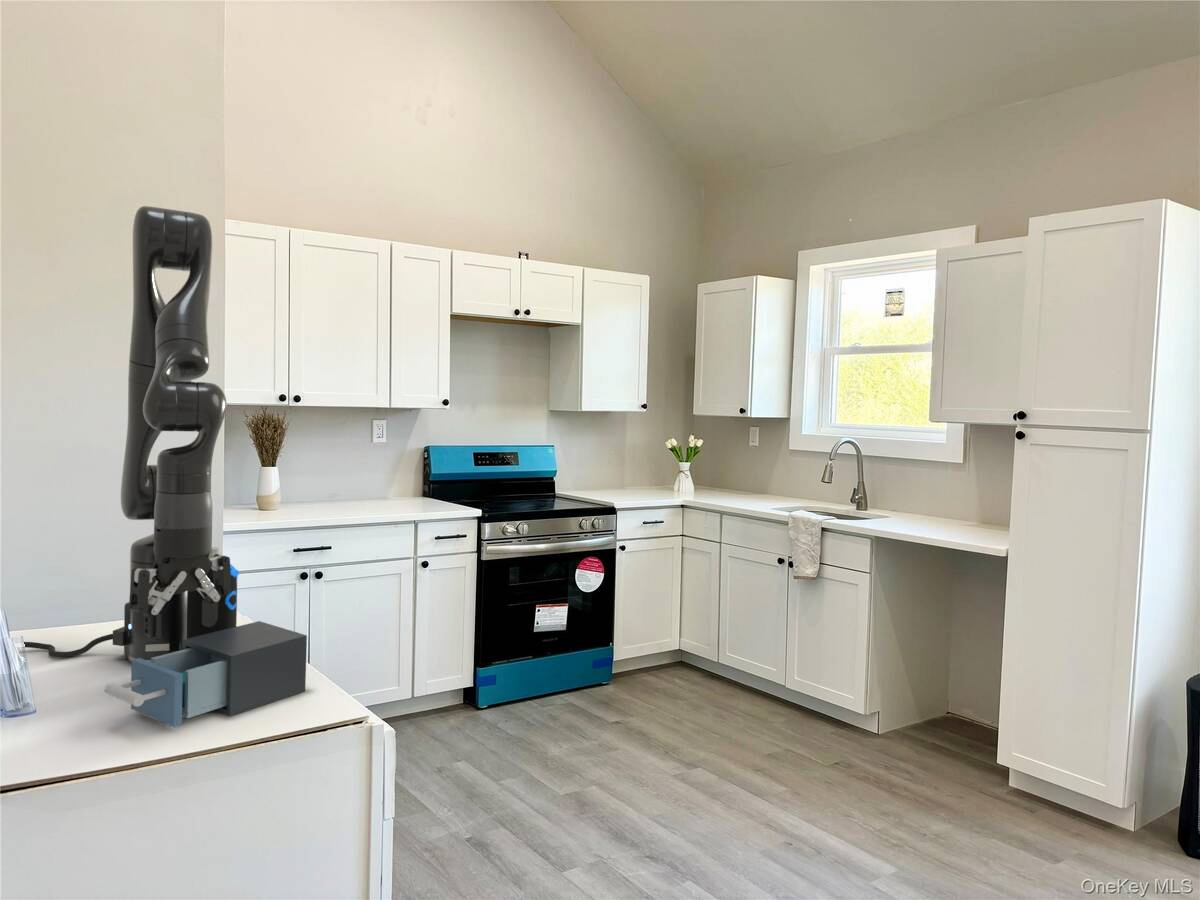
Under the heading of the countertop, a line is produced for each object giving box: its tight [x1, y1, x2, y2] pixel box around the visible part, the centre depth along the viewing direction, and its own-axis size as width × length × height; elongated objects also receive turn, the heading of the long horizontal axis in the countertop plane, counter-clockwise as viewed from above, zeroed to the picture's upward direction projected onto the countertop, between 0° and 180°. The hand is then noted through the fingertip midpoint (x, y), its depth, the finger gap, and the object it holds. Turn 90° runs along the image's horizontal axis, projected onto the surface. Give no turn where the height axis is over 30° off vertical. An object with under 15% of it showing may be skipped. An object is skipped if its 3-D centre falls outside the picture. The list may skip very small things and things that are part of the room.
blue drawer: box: [104, 648, 228, 728], centre depth 129 cm, size 17×10×7 cm, turn 148°
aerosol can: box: [187, 546, 240, 639], centre depth 150 cm, size 8×8×20 cm
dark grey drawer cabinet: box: [183, 620, 308, 717], centre depth 138 cm, size 14×12×9 cm
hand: (181, 632), depth 129 cm, fingers open, 8 cm apart
